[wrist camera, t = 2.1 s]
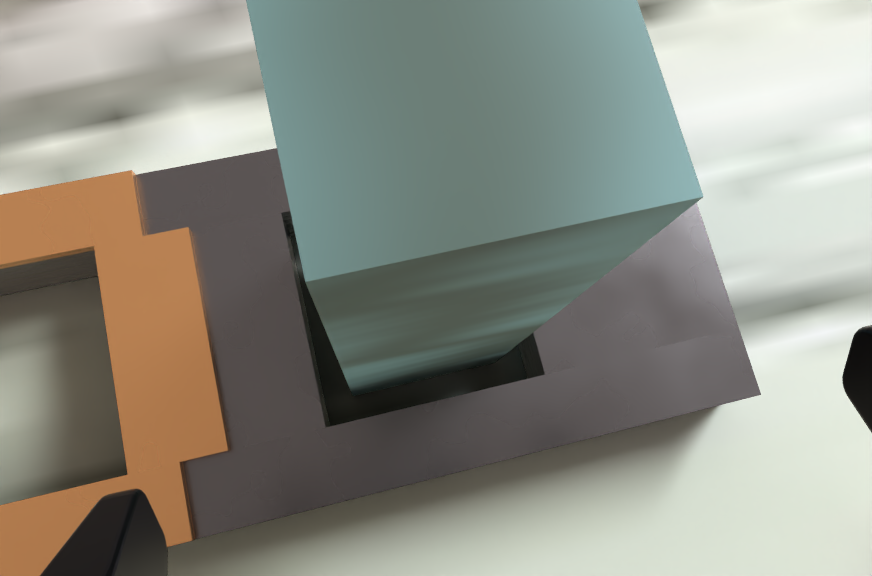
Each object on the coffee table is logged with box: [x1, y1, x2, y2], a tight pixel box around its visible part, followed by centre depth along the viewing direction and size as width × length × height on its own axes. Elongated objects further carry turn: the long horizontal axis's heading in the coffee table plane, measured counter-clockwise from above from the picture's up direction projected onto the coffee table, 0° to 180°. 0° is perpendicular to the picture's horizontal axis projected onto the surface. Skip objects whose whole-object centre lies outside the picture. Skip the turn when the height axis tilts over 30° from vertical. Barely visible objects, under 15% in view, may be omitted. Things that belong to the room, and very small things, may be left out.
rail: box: [0, 148, 761, 576], centre depth 18 cm, size 26×9×2 cm, turn 104°
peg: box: [246, 0, 703, 396], centre depth 14 cm, size 4×4×13 cm
